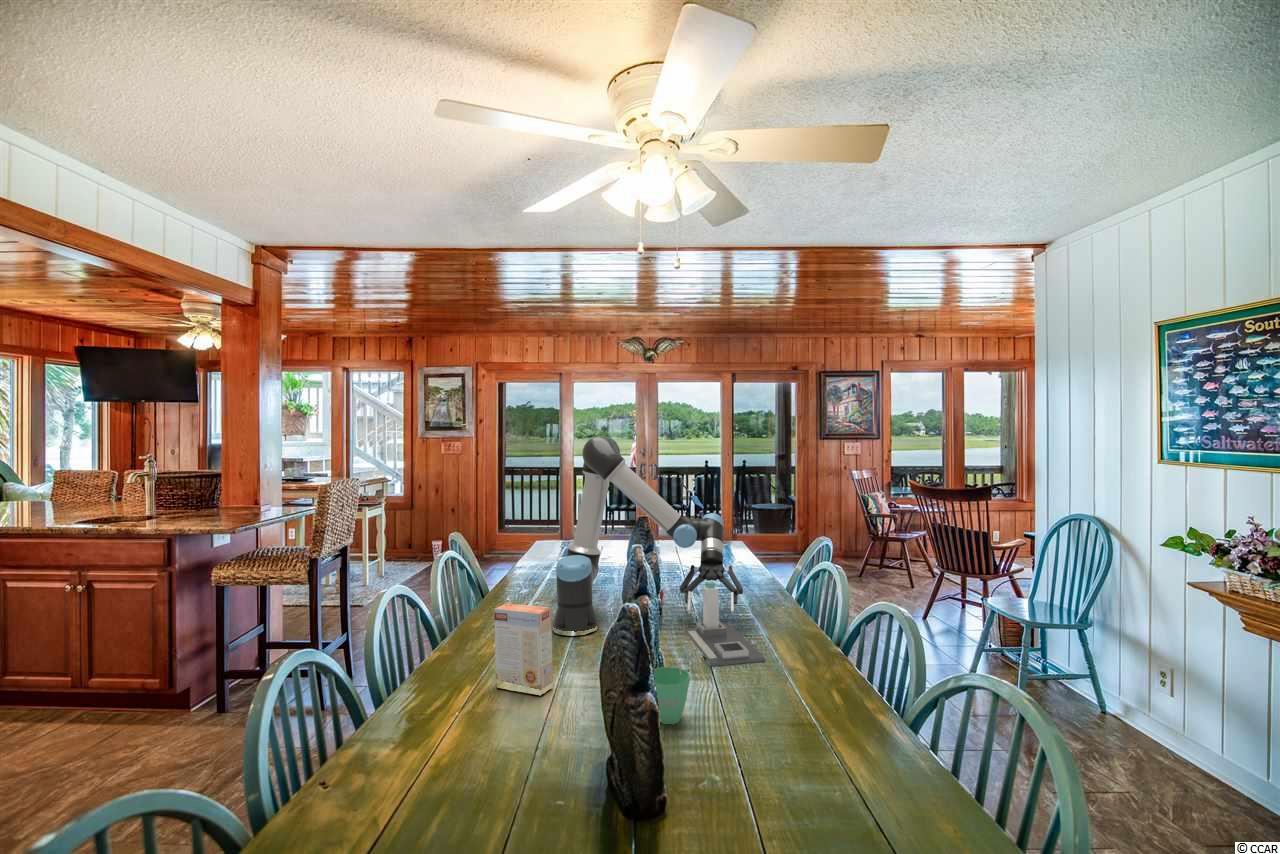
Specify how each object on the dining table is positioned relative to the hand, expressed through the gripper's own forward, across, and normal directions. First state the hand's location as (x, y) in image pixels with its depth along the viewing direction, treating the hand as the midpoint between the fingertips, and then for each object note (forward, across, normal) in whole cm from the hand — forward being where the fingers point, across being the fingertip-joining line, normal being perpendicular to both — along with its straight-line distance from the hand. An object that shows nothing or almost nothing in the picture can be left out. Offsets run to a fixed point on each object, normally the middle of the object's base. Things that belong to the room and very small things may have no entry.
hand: (710, 612), depth 192 cm
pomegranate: (-20, +25, -31) cm, 44 cm away
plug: (+3, 0, -6) cm, 7 cm away
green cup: (+45, +9, +34) cm, 58 cm away
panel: (+11, -3, 0) cm, 11 cm away
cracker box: (+37, +45, +25) cm, 63 cm away
